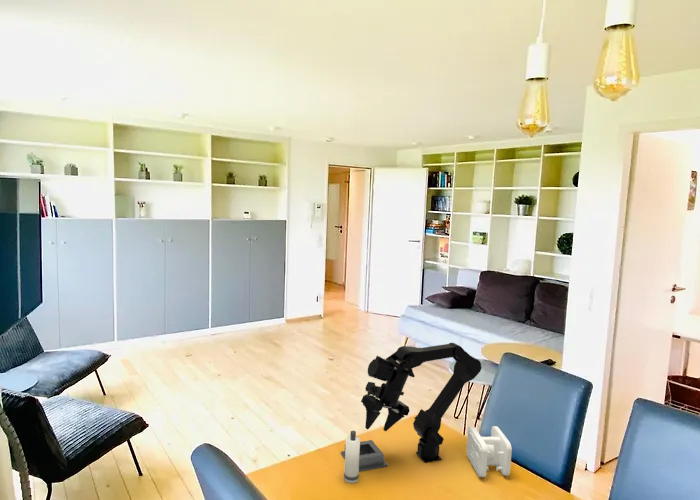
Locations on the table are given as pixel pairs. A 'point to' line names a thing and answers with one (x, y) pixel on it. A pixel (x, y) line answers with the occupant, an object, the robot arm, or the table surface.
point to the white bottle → (352, 458)
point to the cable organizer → (489, 451)
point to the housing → (369, 456)
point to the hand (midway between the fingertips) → (375, 429)
